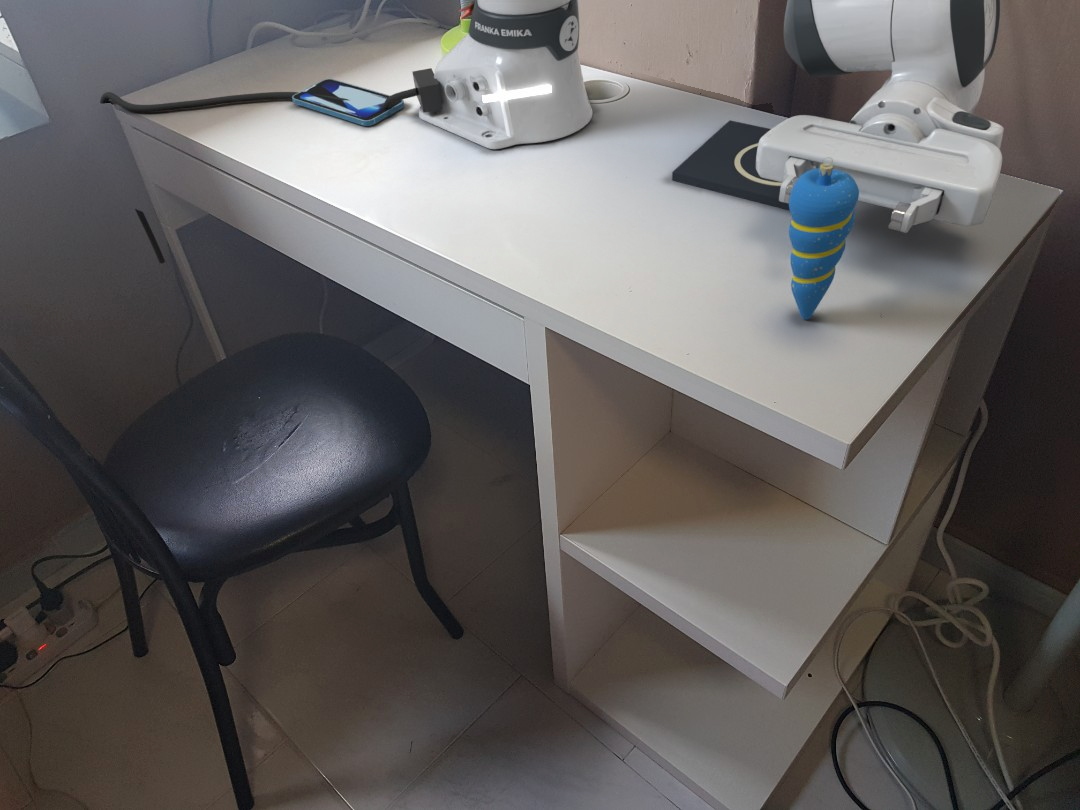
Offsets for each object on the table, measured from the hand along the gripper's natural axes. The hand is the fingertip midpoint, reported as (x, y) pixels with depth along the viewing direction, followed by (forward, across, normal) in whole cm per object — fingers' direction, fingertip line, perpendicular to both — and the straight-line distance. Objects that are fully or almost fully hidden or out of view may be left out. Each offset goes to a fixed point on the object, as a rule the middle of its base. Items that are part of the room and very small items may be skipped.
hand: (841, 209), depth 70 cm
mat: (-18, -14, +8) cm, 24 cm away
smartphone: (-9, -69, +8) cm, 70 cm away
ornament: (+5, 0, +8) cm, 10 cm away
